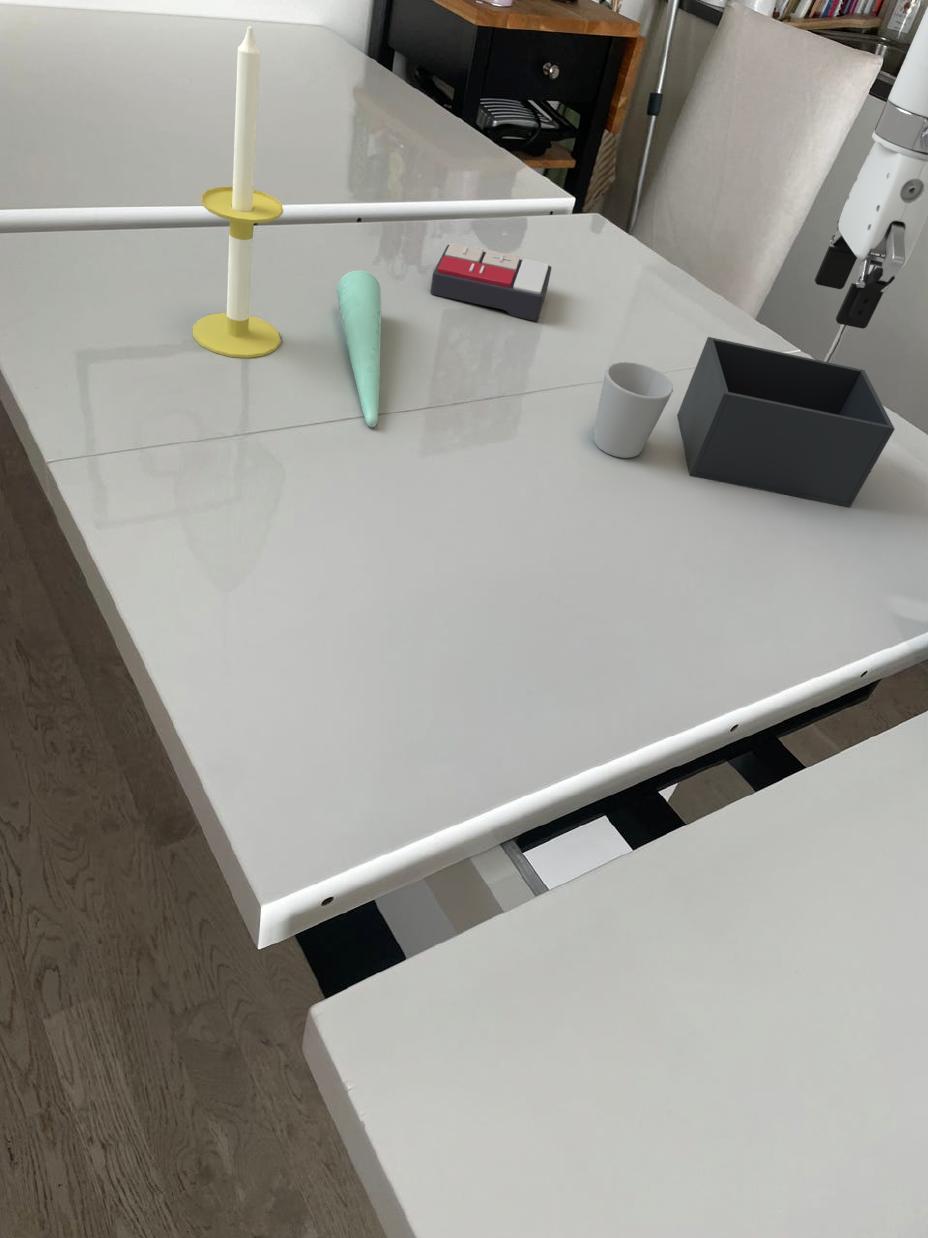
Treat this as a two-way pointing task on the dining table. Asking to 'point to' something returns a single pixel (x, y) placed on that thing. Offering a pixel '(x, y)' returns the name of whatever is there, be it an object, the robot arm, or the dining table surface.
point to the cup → (629, 407)
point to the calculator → (492, 280)
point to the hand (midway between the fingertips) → (838, 304)
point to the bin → (781, 423)
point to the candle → (241, 226)
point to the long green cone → (363, 335)
